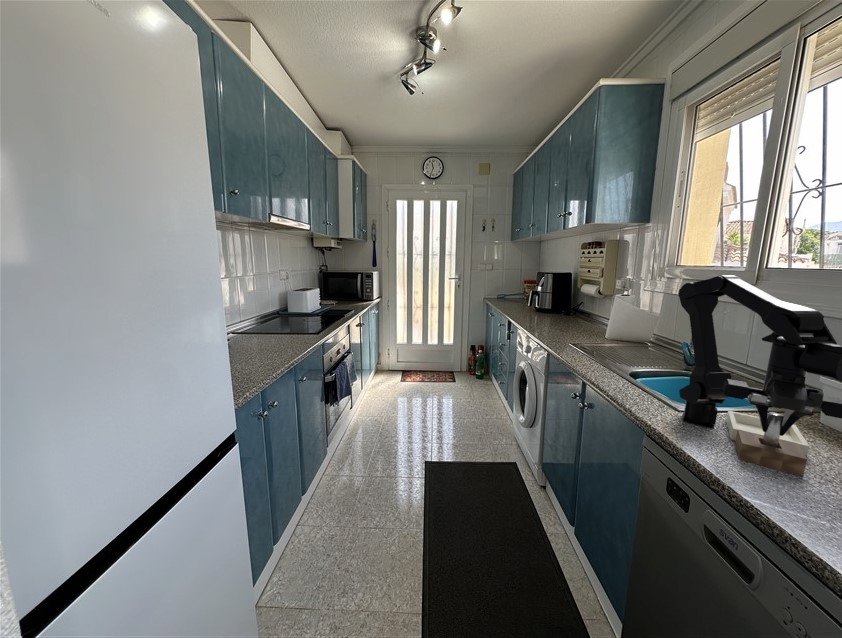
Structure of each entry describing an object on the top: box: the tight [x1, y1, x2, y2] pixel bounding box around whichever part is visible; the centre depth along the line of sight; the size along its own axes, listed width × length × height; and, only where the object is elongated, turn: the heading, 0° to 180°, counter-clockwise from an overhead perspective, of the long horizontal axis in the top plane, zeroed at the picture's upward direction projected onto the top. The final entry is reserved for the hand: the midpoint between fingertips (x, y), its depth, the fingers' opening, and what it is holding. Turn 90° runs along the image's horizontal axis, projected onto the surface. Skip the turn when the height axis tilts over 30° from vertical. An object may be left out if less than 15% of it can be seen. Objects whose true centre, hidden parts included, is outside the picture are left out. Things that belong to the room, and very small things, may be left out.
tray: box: [725, 410, 810, 459], centre depth 87 cm, size 13×13×3 cm
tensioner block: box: [734, 429, 808, 478], centre depth 77 cm, size 10×8×4 cm
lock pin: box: [762, 411, 784, 448], centre depth 77 cm, size 2×2×10 cm
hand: (772, 433), depth 76 cm, fingers closed on lock pin, 2 cm apart
